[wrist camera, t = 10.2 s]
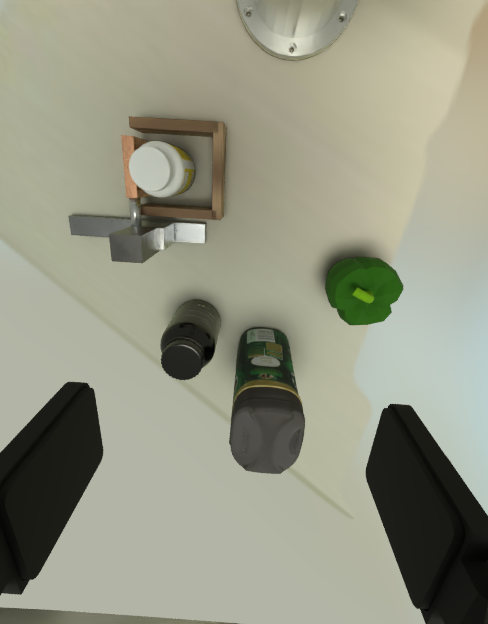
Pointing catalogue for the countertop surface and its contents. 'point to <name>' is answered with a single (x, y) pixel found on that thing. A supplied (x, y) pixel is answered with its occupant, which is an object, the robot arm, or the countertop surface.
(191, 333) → the supplement bottle
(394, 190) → the countertop surface
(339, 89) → the countertop surface
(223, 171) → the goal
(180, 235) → the rail
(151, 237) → the carriage
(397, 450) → the robot arm
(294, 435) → the coffee jar
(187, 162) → the supplement bottle
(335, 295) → the bell pepper
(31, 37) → the countertop surface
